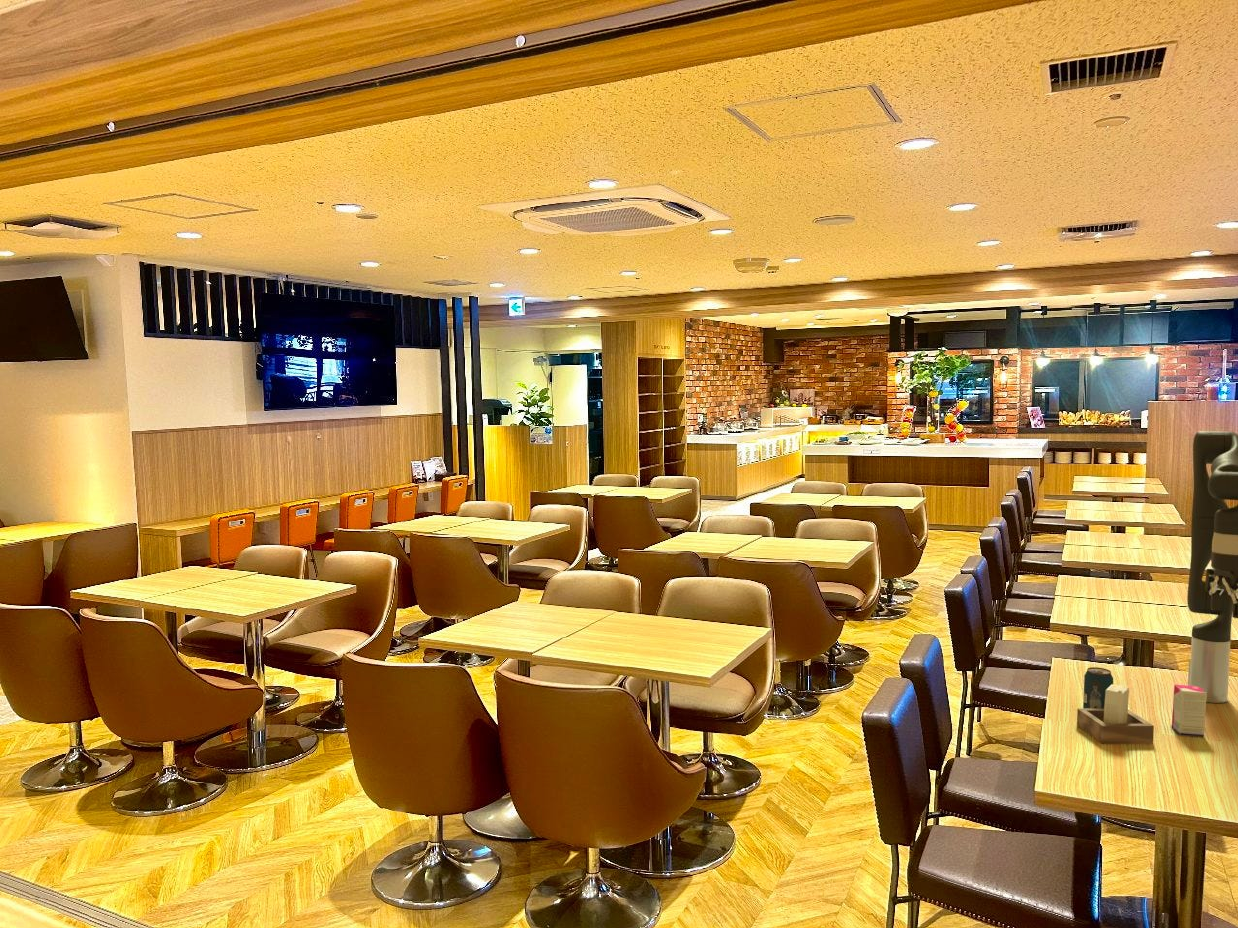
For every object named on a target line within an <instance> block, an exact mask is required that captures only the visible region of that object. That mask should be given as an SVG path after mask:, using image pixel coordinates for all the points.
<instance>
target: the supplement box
mask: <svg viewBox="0 0 1238 928" xmlns="http://www.w3.org/2000/svg"><path fill="white" fill-rule="evenodd" d="M1173 685H1174V686H1173V699H1172V716H1171V717H1172V718H1171V728H1172V730H1174V731H1175V732H1176V733H1177V734H1178V735H1179V736H1186V737H1188V736H1189V737H1202V738H1203V737H1205V728H1206V727H1205V725H1206V711H1207V702H1206V697H1207V693H1206V692H1205V691H1203V690H1202V689H1201V688H1199V687H1198V686H1188V685H1185V684H1183V685H1182V684H1173Z"/></svg>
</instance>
